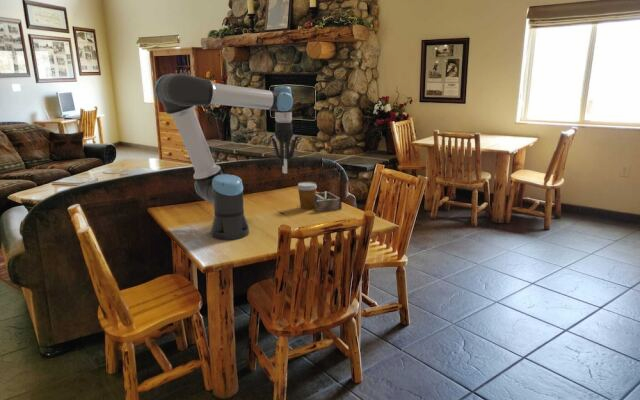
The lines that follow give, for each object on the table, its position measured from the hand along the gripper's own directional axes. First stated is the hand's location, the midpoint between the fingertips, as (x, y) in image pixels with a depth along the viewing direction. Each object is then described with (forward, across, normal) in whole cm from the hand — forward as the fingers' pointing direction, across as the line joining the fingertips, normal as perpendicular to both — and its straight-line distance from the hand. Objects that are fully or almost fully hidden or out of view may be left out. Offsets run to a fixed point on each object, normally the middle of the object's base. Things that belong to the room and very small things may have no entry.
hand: (284, 172), depth 209 cm
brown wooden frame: (+18, +20, 0) cm, 27 cm away
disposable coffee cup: (+19, +11, 0) cm, 22 cm away
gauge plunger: (+18, +20, 0) cm, 27 cm away
